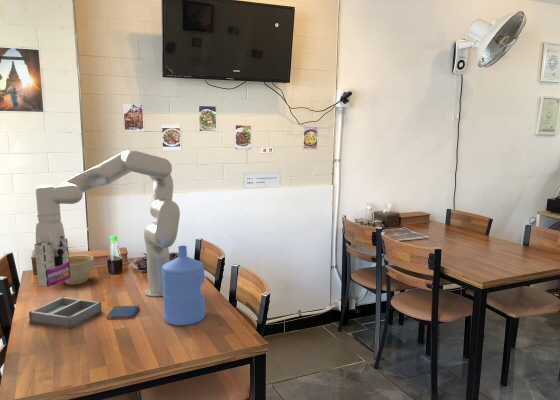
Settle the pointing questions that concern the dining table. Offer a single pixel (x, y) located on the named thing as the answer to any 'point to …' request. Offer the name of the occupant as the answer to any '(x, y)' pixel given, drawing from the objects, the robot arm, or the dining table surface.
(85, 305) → the tray
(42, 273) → the candy bar box
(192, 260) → the water jug
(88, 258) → the planter bowl
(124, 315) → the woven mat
